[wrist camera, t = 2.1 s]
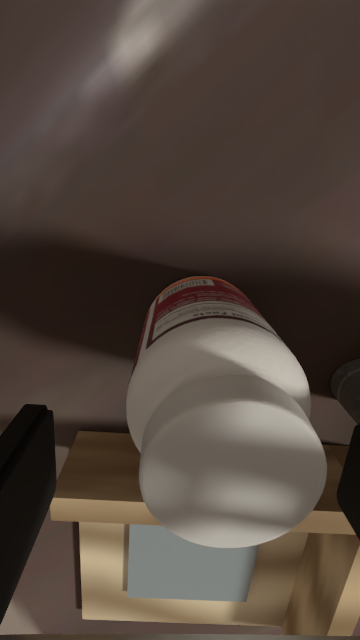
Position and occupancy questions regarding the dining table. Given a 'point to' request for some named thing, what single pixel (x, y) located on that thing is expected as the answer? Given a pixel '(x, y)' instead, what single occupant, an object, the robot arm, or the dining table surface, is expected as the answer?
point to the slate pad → (186, 567)
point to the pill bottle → (221, 419)
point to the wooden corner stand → (270, 565)
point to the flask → (348, 387)
